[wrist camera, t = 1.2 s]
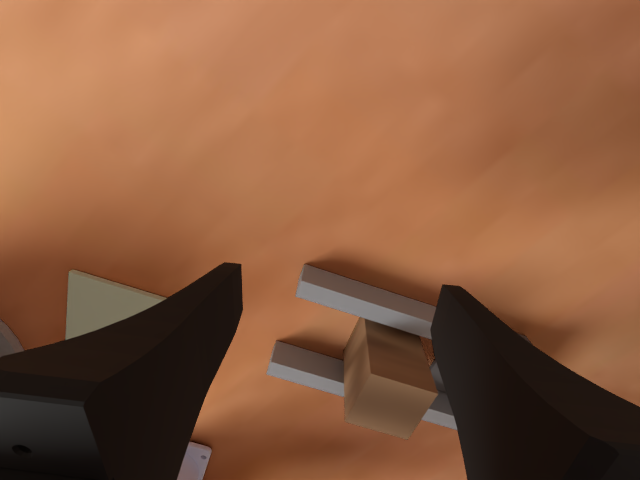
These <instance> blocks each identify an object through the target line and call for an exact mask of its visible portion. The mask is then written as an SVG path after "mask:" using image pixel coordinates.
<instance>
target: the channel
mask: <svg viewBox="0 0 640 480" xmlns="http://www.w3.org/2000/svg"><path fill="white" fill-rule="evenodd" d="M296 297H299V298H302V299H305V300H308V301H311V302H315V303H318V304H321V305H324V306H327V307H330V308H334V309H337V310H340V311H343V312H346V313H349V314H352V315H356V316H359V317H362V318H365V319H368V320H371V321H375V322H378V323H381V324H384V325H387V326H390V327H394V328H397V329H400V330H403V331H406V332H409V333H412V334H416V335H419V336H422V337H425V338H428V339H431V340H432V338H431V332H430V328H431V325H432V321H433V317H434V314H435V310H436V307H435V306H432V305H429V304H426V303H423V302H420V301H417V300H414V299H411V298H407V297H404V296H401V295H398V294H395V293H392V292H389V291H386V290H383V289H380V288H377V287H374V286H371V285H368V284H365V283H361V282H358V281H355V280H352V279H349V278H346V277H343V276H340V275H337V274H334V273H331V272H328V271H325V270H322V269H319V268H315V267H312V266H309V265H306V264H304V266H303V269H302V272H301V275H300V277H299V281H298V286H297V291H296ZM517 334H518V333H517ZM519 335H520V336H521V337H523V338H524V339H525V340H527V341H528V342H529V343H531V342H530V341H529V340H528V338H527V337H526V336H524V335H521V334H519ZM430 370H431V373H432V376H433V380H434V383H435V386H436V389H437V392H438V395H437V397H436V398H435V400H434V401H433V403H432V404H431V406H430V407H429V409H428V410H427V412H426V413H425V415H424V416H423V418H422V419H421V420H424V421H427V422H431V423H434V424H438V425H441V426H444V427H448V428H451V429H455V430H457V426H456V422H455V419H454V415H453V412H452V409H451V406H450V403H449V400H448V397H447V393H446V390H445V387H444V384H443V381H442V378H441V375H440V372H439V368H438V365H437V362H436V359H435V360H434V361H433V363H432V365H431V366H430ZM267 375H270V376H274V377H277V378H281V379H284V380H288V381H291V382H294V383H298V384H301V385H305V386H308V387H311V388H315V389H318V390H322V391H325V392H328V393H332V394H335V395H339V396H342V397H344V361H343V360H339V359H336V358H333V357H329V356H326V355H323V354H319V353H316V352H313V351H310V350H306V349H303V348H300V347H296V346H293V345H290V344H286V343H283V342H280V341H277V340H276V343H275V345H274V348H273V351H272V354H271V358H270V362H269V366H268V370H267Z"/></svg>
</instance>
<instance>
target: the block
mask: <svg viewBox="0 0 640 480" xmlns="http://www.w3.org/2000/svg"><path fill="white" fill-rule="evenodd" d="M343 358H344V408H345V422H347V423H350V424H354V425H357V426H361V427H364V428H368V429H371V430H375V431H378V432H382V433H385V434H388V435H392V436H395V437H399V438H402V439H406V440H408V439H409V437H410V436H411V434H412V433H413V431H414V430H415V428H416V427H417V425H418V424H419V422H420V421H421V419H422V418H423V416H424V415H425V413H426V412H427V410H428V409H429V407H430V406H431V404H432V403H433V401H434V400H435V398H436V397H437V395H438V392H437V389H436V386H435V383H434V380H433V376H432V373H431V370H430V367H429V364H428V361H427V358H426V355H425V352H424V349H423V346H422V343H421V340H420V337H419V335H416V334H412V333H409V332H406V331H403V330H400V329H397V328H394V327H390V326H387V325H384V324H381V323H378V322H375V321H371V320H368V319H365V318H362V317H360V318H359V320H358V322H357V324H356V326H355V328H354V330H353V332H352V334H351V336H350V338H349V341H348V343H347V345H346V347H345V349H344V351H343Z"/></svg>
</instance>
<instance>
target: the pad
mask: <svg viewBox="0 0 640 480" xmlns="http://www.w3.org/2000/svg"><path fill="white" fill-rule="evenodd" d="M165 299H167V298H166V297H162V296H159V295H156V294H152V293H149V292H146V291H143V290H139V289H136V288H133V287H130V286H126V285H123V284H120V283H116V282H113V281H110V280H107V279H103V278H100V277H97V276H93V275H90V274H87V273H84V272H80V271H77V270H74V269H72V270H71V271H69V275H68V295H67V316H66V337H65V340H67V339H70V338H74V337H77V336H80V335H83V334H86V333H89V332H92V331H95V330H98V329H100V328H103V327H105V326H108V325H111V324H113V323H116V322H118V321H121V320H123V319H126V318H128V317H131V316H133V315H135V314H137V313H139V312H141V311H144V310H146V309H148V308H150V307H152V306H154V305H156V304H158V303H159V302H161V301H163V300H165Z"/></svg>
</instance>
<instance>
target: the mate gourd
mask: <svg viewBox="0 0 640 480" xmlns="http://www.w3.org/2000/svg"><path fill="white" fill-rule="evenodd" d="M22 351H24V349H23V347H22V346H21V344H20V342H19V340H18V338H17V337H16V336H15V335H14V333H13V332H12V331H11V330H10V328H9V327H8V326H7V325H6V324H5V323H4V322H3V321H2V320H1V319H0V357H1V356H4V355H9V354H13V353H17V352H22Z"/></svg>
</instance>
